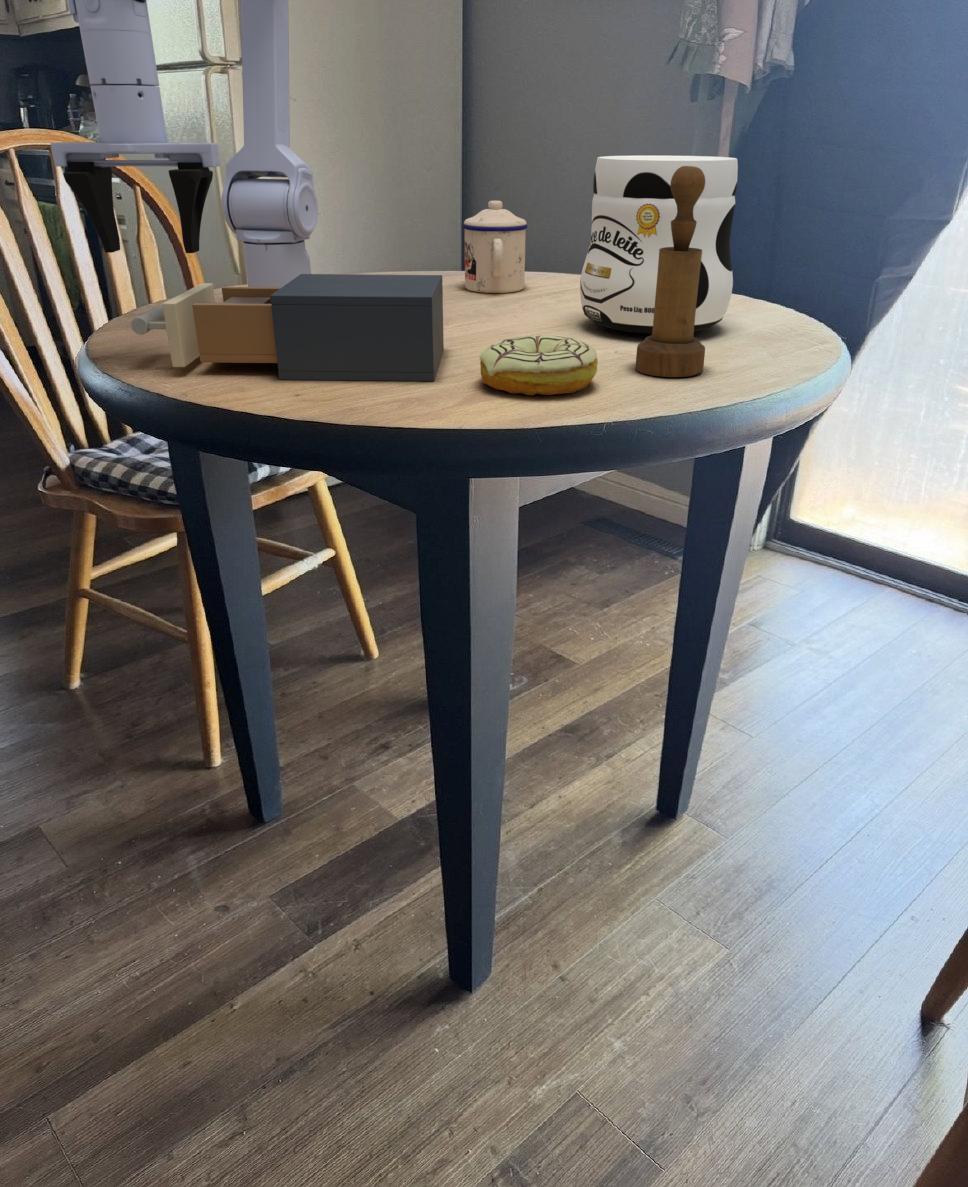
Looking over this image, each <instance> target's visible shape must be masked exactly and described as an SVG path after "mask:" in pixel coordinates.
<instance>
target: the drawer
mask: <svg viewBox="0 0 968 1187" xmlns="http://www.w3.org/2000/svg"><path fill="white" fill-rule="evenodd" d="M280 288H282V287H248V286H222V287H221V294H222V301H223V302H225V301H226V300H228V299H230V298H231V297H270V295H272V294H273V293H275V292H276V291H278V290H279V289H280ZM214 290H215V289H214V283H211V282H201V283H200V284H197V285H195V286H193V287H192V288H190V289H188V290H186V291H183V292H182V293H180V294H178V295H176V296H173V297H172V298H170V299H168V300H166V301H165V302H163V303H161V304H160V305H157V306H155V307H154V308H152V309H149V310H148V311H146V312H144V313H142V314H140V315H138V316H136V317H135V318H133V319H132V320H131V321H130V328H131V329H132V331H133V333H135V334H137V335H139V336H143V335H145V334H147V333H149V332H151V331H152V330H166V335H167V341H168V347H169V348H168V349H169V353H170V360H171V365H172V367H173V368H186V366H187V367H188V365H189V364H191V363H192V362H193V361H195V360H196V359H197V358H199V360H200V363H223V364H225V363H226V364H227V363H230V364H231V363H232V364H233V363H234V364H237V363H238V364H278V363H277V353H276V344H275V335H274V326H273V316H272V307H271V305H272V304H238V303H223V302H221V303H220V302H216V298H215V291H214Z"/></svg>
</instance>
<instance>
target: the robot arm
mask: <svg viewBox="0 0 968 1187" xmlns="http://www.w3.org/2000/svg"><path fill="white" fill-rule="evenodd" d="M147 1H148V0H67V4H68V9H69V15H72V19H73V21H74V22H75V23H77V24H78V26H79V32H80V38H81V44H82V48H83V54H84V60H85V65H86V70H87V75H88V76H87V77H88V82H89V85H90V92H91V97H92V102H93V109H94V113H95V114H94V115H95V120H96V124H97V130H98V135H99V141H98V142H97V141H92V142H91V141H90V142H89V141H82V142H76V141H73V142H72V141H71V142H70V141H69V142H68V141H65V142H64V141H61V142H58V141H57V142H50V148H51V153H52V157H53V163H54V166H55V167H67V168H66V171H64V172H62V175H63V179H64V181H65V183H66V184H67V186H68V187H69V188H70V189H71V191H72V192H73V193H74V195H75V196H76V198H77V199H78V201H79V202H80V203H81V205H82V206H83V208H84V210H85V211H86V214H87V215H88V217H89V219H90V220H91V222H92V224H93V227H94V229H95V230H96V231H95V232H96V233H97V235H98V238H99V240H100V243H101V245H102V248H103V250H104V253H105V254H106V253H107V254H109V253H110V254H112V253H115V252H119V251H121V241H120V240H121V239H120V235H119V229H118V225H117V224H118V223H117V220H116V214H115V206H114V197H113V196H114V195H113V169H112V167H175V168H173V169H168V176H169V179H170V183H171V185H172V189H173V192H174V193H173V194H174V196H175V200H176V204H177V209H178V213H179V221H180V228H181V236H182V237H181V238H182V244H183V249H184V252H185V254H194V253H198V252H200V237H201V226H202V219H203V212H204V208H205V203H206V199H207V197H208V193H209V190H210V187H211V183H212V182H213V176H214V172H213V170H210V168H217V167H221V159H220V152H219V151H220V150H219V144H218V143H217V142H169V140H168V136H167V128H166V122H165V115H164V109H163V102H162V94H161V89H160V82H159V75H158V69H157V62H156V55H155V49H154V42H153V41H154V40H153V36H152V29H151V28H152V27H151V22H150V15H149V9H148V2H147ZM289 11H290V10H289V0H240V29H241V30H240V31H241V33H240V34H241V67H242V68H241V73H242V76H241V77H242V112H243V113H242V115H243V116H242V118H243V119H242V120H243V146H242V147H241V148H240V149H239V150H238V151H237V152H236V153H235V154H234V155H233V156H232V157H231V158H230V159H229V160H228V162H226V164H225V181H224V186H223V190H222V194H221V212H222V215H223V218H224V220H225V223H226V225H227V227H228V228H229V229H230V231H231V232H232V233H234V234H235V237H236V241H238V242H239V241H240V242H241V241H242V248H243V256H244V265H245V271H246V280H247V287H283V286H285V285H286V284H287V283H289V282H290V281H292V280H293V279H294V278H296V277H297V276H299V275H300V274H312V268H311V267H312V266H311V259H310V255H309V253H308V251H307V249H306V242H305V241H306V240H310V238H311V235H312V233H313V232H314V230H315V228H316V226H317V224H318V218H319V217H318V216H319V206H318V205H319V204H318V200H317V196H316V191H315V183H314V182H315V181H314V172H313V170H312V169H311V167H310V166H309V165H308V164H307V163H306V162H305V161H303V160H302V159H301V158H300V157H299V156H298V155H297V154H296V153H295V152H294V151H292V149H291V133H290V132H291V127H290V126H291V124H290V120H291V119H290V111H291V110H290V40H289V39H290V31H289V30H290V29H289V28H290V27H289V26H290V25H289V24H290V23H289V20H290V19H289V18H290V17H289ZM120 155H154V158H155V159H116V158H120ZM156 159H157V160H156ZM159 159H160V160H159ZM176 167H177V168H176ZM284 178H285V179H284ZM286 178H287V179H286Z"/></svg>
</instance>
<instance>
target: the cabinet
mask: <svg viewBox="0 0 968 1187" xmlns="http://www.w3.org/2000/svg"><path fill="white" fill-rule="evenodd" d="M443 285H444V284H443V275H441V274H363V273H362V274H361V273H360V274H359V273H358V274H357V273H355V274H353V273H352V274H347V273H345V274H343V273H337V274H336V273H335V274H334V273H332V274H331V273H311V274H300V275H299V276H297V277H296V278H294V279H293V280H292V281H290V282H289V283H287V284H286V285H285V286H283V287H282V288H280V289H279V290H278V291H276V292H275V293H273V294H272V295H270V298H271V304H272V305H271V307H272V316H273V326H274V335H275V344H276V353H277V363H276V364H277V370H278V379H279V380H292V381H294V380H299V381H376V382H377V381H378V382H379V381H381V382H386V381H387V382H388V381H390V382H392V381H393V382H435V379H436V376H437V373H438V369H439V367H440V363H441V360H442V356H443V354H444V350H445V348H444V346H445V345H444V344H445V343H444V292H443V289H444V288H443Z"/></svg>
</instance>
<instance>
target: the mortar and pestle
mask: <svg viewBox="0 0 968 1187" xmlns="http://www.w3.org/2000/svg"><path fill="white" fill-rule="evenodd" d="M670 187H671V192H672V194H673V197H674V200H675V202H676V205H677V215H676V217H675V219H674V220H672V221H671V231H672V238H673V245H674V247H665V248H660V249H659V261H658V273H657V284H656V296H655V308H654V319H653V331H652V334H651V335H649V336H646V337H645V338H644V340H643V341H641V342H639V344H637V347H636V355H635V370H636V372H639V373H641V374H644V375H647V376H653V377H664V378H685V377H687V378H688V377H693V376H695V375H701V373H703V371H704V367H705V366H704V365H705V357H706V356H705V354H706V347H705V345H703V343H701V341H700V340H699V339H698V338H696V337H694V333H695V331H694V323H695V313H696V302H697V293H698V284H699V274H700V266H701V257H702V250H701V249H697V248H689V245H690V242H691V240H692V237H693V234H694V231H695V228H696V223H697V221H695V220H694V217H693V209H694V205H695V204H696V202H697V201H698V199H699V197H700V196H701V194H702V192H703V190H704V187H705V176H704V173H703V171H702V170H701V169H700V168H698V167H693V166H682V167H680V168H678V169H677V170H676V171H675V173H674V174H673V176H672V179H671V185H670Z"/></svg>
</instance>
